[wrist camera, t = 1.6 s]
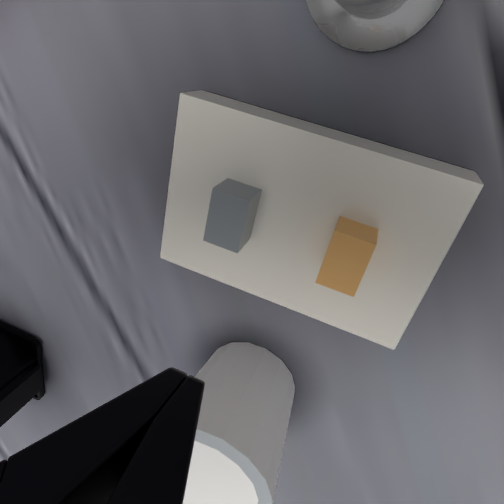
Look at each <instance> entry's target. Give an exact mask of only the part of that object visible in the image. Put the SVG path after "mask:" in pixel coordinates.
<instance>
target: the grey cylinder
mask: <svg viewBox="0 0 504 504" xmlns="http://www.w3.org/2000/svg"><path fill="white" fill-rule="evenodd" d="M194 377H196V378H198V379H200V380H202V381H204V382H205V387H204V392H203V398H202V403H201V409H200V414H199V419H198V425H197V430H196V435H195V441H194V446H193V452H192V457H191V462H190V468H189V473H188V478H187V484H186V489H185V495H184V500H183V504H273V500H274V495H275V490H276V485H277V480H278V475H279V470H280V465H281V460H282V454H283V449H284V444H285V439H286V434H287V429H288V424H289V419H290V414H291V409H292V404H293V399H294V393H295V385H294V381H293V377H292V374H291V372H290V371H289V370H288V368H287V367H286V366H285V364H284V363H283V361H282V360H281V359H280V358H278V357H277V356H275V355H274V354H273V353H271V352H270V351H268V350H267V349H266V348H263V347H260V346H257V345H254V344H251V343H248V342H231V343H229V344H226V345H224V346H222V347H219V348H218V349H217V350H216V351H215V352H214V354H213V355H212V356H211V357H210V358H209V360H208V361H207V362H206V363H205V364H204V366H203V367H202V368H201V369H200V370H199V372H198V373H197V374H196V375H195V376H194Z"/></svg>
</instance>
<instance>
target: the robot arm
mask: <svg viewBox="0 0 504 504" xmlns="http://www.w3.org/2000/svg"><path fill="white" fill-rule="evenodd" d="M204 387H205V382H204V381H202V380H200V379H198V378H196V377H193V376H187V374H186V373H184V372H182V371H180V370H178V369H176V368H168V369H166V370H164V371H163V372H161V373H159V374H157V375H156V376H154V377H152V378H150V379H148V380H147V381H145V382H143V383H141V384H139V385H138V386H136V387H134V388H132V389H130V390H129V391H127V392H125V393H123V394H121V395H120V396H118V397H116V398H114V399H112V400H111V401H109V402H107V403H105V404H103V405H102V406H100V407H98V408H96V409H95V410H93V411H91V412H89V413H87V414H86V415H84V416H82V417H80V418H78V419H77V420H75V421H73V422H71V423H69V424H68V425H66V426H64V427H62V428H60V429H59V430H57V431H55V432H53V433H51V434H50V435H48V436H46V437H44V438H42V439H41V440H39V441H37V442H35V443H34V444H32V445H30V446H28V447H26V448H25V449H23V450H21V451H19V452H17V453H16V454H14V455H12V456H10V457H9V458H8V461H7V460H3V461H1V462H0V504H183V500H184V495H185V489H186V484H187V478H188V473H189V468H190V462H191V457H192V452H193V446H194V441H195V435H196V430H197V425H198V419H199V414H200V409H201V403H202V398H203V392H204ZM43 396H44V386H43V370H42V354H41V343H40V342H39V340H38V339H36V338H35V337H32V336H30V335H28V334H26V333H24V332H22V331H20V330H17V329H15V328H13V327H11V326H9V325H7V324H5V323H3V322H0V427H1V426H2V425H3V424H4V423H5V422H7V421H8V420H9V419H10V418H11V417H12V416H13V415H14V414H15V413H16V412H18V411H19V410H20V409H21V408H22V407H23V406H24V405H25V404H26V403H27V402H29V401H30V400H31V399H32V398H34V399H36V400H40V399H41V398H42V397H43Z"/></svg>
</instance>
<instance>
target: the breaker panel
mask: <svg viewBox="0 0 504 504" xmlns="http://www.w3.org/2000/svg"><path fill="white" fill-rule="evenodd" d="M483 186H484V184H483V183H482V181H481V180H480V178H479V177H478V175H477V174H476V172H475V171H472V170H469V169H465V168H462V167H459V166H455V165H452V164H448V163H445V162H442V161H438V160H435V159H432V158H428V157H425V156H422V155H418V154H415V153H411V152H408V151H405V150H401V149H398V148H395V147H391V146H388V145H385V144H381V143H378V142H374V141H371V140H368V139H364V138H361V137H358V136H354V135H351V134H348V133H344V132H341V131H337V130H334V129H331V128H327V127H324V126H321V125H317V124H314V123H311V122H307V121H304V120H300V119H297V118H294V117H290V116H287V115H284V114H280V113H277V112H274V111H270V110H267V109H264V108H260V107H257V106H253V105H250V104H247V103H243V102H240V101H237V100H233V99H230V98H227V97H223V96H220V95H216V94H213V93H210V92H206V91H203V90H198V91H191V92H184V93H180V98H179V106H178V115H177V123H176V131H175V139H174V147H173V156H172V164H171V172H170V180H169V188H168V197H167V205H166V213H165V221H164V230H163V238H162V246H161V254H160V258H162V259H164V260H167V261H169V262H172V263H174V264H177V265H180V266H182V267H185V268H187V269H190V270H192V271H195V272H197V273H200V274H202V275H205V276H208V277H210V278H213V279H215V280H218V281H220V282H223V283H225V284H228V285H230V286H233V287H235V288H238V289H241V290H243V291H246V292H248V293H251V294H253V295H256V296H258V297H261V298H263V299H266V300H269V301H271V302H274V303H276V304H279V305H281V306H284V307H286V308H289V309H291V310H294V311H296V312H299V313H302V314H304V315H307V316H309V317H312V318H314V319H317V320H319V321H322V322H324V323H327V324H329V325H332V326H335V327H337V328H340V329H342V330H345V331H347V332H350V333H352V334H355V335H357V336H360V337H363V338H365V339H368V340H370V341H373V342H375V343H378V344H380V345H383V346H385V347H388V348H390V349H393V350H395V348H396V346H397V344H398V342H399V341H400V339H401V337H402V335H403V333H404V331H405V329H406V328H407V326H408V324H409V322H410V320H411V318H412V317H413V315H414V313H415V311H416V309H417V307H418V306H419V304H420V302H421V300H422V298H423V296H424V295H425V293H426V291H427V289H428V287H429V285H430V283H431V282H432V280H433V278H434V276H435V274H436V272H437V271H438V269H439V267H440V265H441V263H442V261H443V260H444V258H445V256H446V254H447V252H448V250H449V249H450V247H451V245H452V243H453V241H454V239H455V238H456V236H457V234H458V232H459V230H460V228H461V226H462V225H463V223H464V221H465V219H466V217H467V215H468V214H469V212H470V210H471V208H472V206H473V204H474V203H475V201H476V199H477V197H478V195H479V193H480V192H481V190H482V188H483Z"/></svg>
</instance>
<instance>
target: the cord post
mask: <svg viewBox="0 0 504 504" xmlns="http://www.w3.org/2000/svg"><path fill="white" fill-rule="evenodd" d="M443 1H444V0H306V2H307V6H308V9H309V11H310V14H311V16H312V18H313V20H314V21H315V23H316V25H317V26H318V27H319V29H320V30H321V31H322V32H323V33H324V34H325V35H326V36H327V37H328V38H329V39H331V40H332V41H333V42H335V43H337V44H339V45H341V46H342V47H345V48H348V49H351V50H356V51H362V52H374V51H381V50H385V49H389V48H392V47H394V46H397V45H399V44H401V43H403V42H404V41H406V40H408V39H409V38H411V37H412V36H414V35H415V34H416V33H417V32H419V31H420V30H421V29H422V28H423V27H424V26H425V25H426V24H427V23H428V22H429V21H430V20H431V19H432V17H433V16H434V14H435V13H436V12H437V10H438V9H439V8H440V6H441V4H442V3H443Z"/></svg>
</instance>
